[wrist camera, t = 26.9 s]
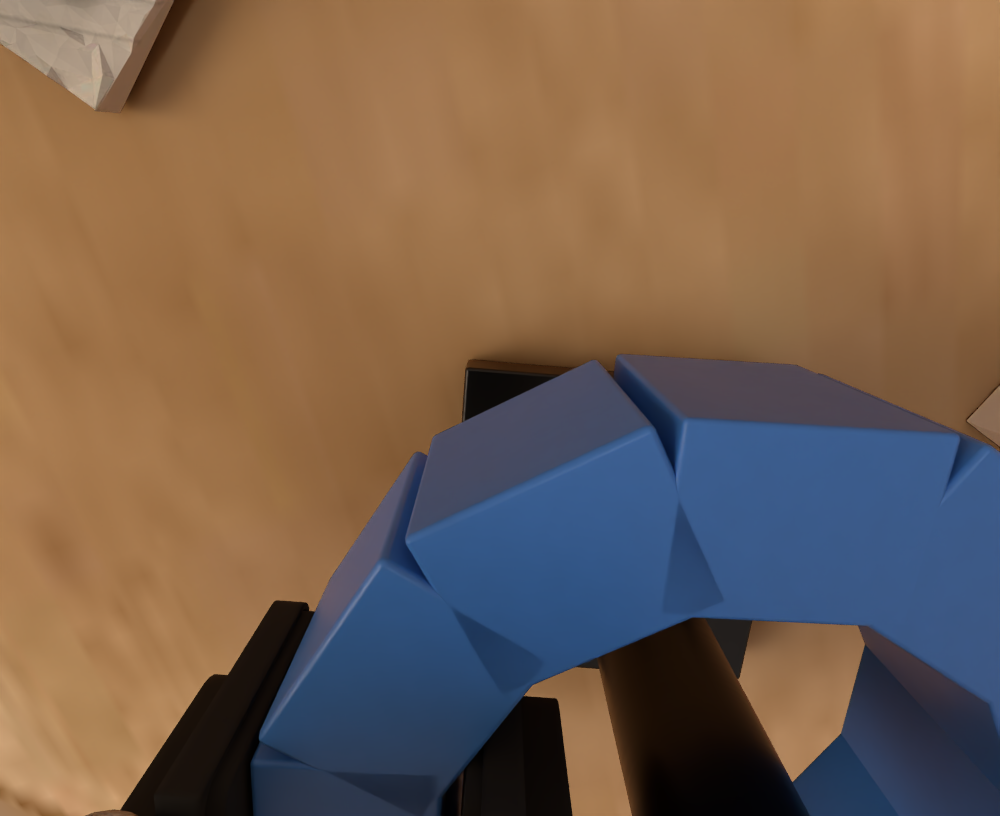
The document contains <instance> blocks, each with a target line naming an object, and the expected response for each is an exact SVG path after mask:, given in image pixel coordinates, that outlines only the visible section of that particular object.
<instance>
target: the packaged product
mask: <svg viewBox="0 0 1000 816" xmlns="http://www.w3.org/2000/svg"><path fill="white" fill-rule="evenodd" d="M173 2H174V0H0V43H1V44H2V45H4V46H5V47H6V48H8V49H9V50H11V51H12V52H14V53H15V54H17V55H18V56H20V57H21V58H23V59H24V60H26V61H27V62H28V63H30V64H31V65H33V66H34V67H35V68H37V69H38V70H40V71H41V72H42V73H44V74H45V75H47V76H48V77H50V78H51V79H52V80H54V81H55V82H57V83H58V84H60V85H61V86H63V87H64V88H66V89H67V90H69V91H70V92H71V93H73V94H74V95H76V96H77V97H78V98H80V99H81V100H83V101H84V102H85V103H87V104H88V105H89V106H91V107H92V108H94V109H95V111H101V112H113V113H120V112H121V110H122V108H123V106H124V104H125V102H126V100H127V98H128V96H129V94H130V91H131V89H132V87H133V85H134V83H135V81H136V79H137V77H138V75H139V73H140V71H141V69H142V66H143V64H144V62H145V60H146V58H147V56H148V54H149V52H150V50H151V48H152V46H153V43H154V41H155V39H156V37H157V35H158V33H159V31H160V29H161V27H162V25H163V23H164V20H165V18H166V16H167V14H168V12H169V10H170V8H171V6H172V4H173Z"/></svg>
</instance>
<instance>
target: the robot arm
mask: <svg viewBox="0 0 1000 816" xmlns="http://www.w3.org/2000/svg"><path fill="white" fill-rule="evenodd" d="M314 613H315V612H314V611H309V606H308V604H307V603H305V602H292V601H278V600H277V601H274V603H273V604H272V605H271V607H270V608H269V610H268V612H267V613H266V615H265V617H264V618H263V620H262V621H261V623H260V625H259V626H258V628H257V629H256V631H255V633H254V634H253V636H252V637H251V639H250V641H249V642H248V644H247V645H246V647H245V649H244V650H243V652H242V653H241V655H240V657H239V658H238V660H237V661H236V663H235V665H234V666H233V668H232V670H231V671H230V673H229V674H228V675H218V674H214V675H213V676H211V677H209V678H208V680H207V681H206V682H205V683H204V685H203V686H202V688H201V689H200V691H199V692H198V694H197V695H196V697H195V698H194V700H193V701H192V703H191V704H190V706H189V707H188V709H187V710H186V712H185V713H184V715H183V716H182V718H181V719H180V721H179V722H178V724H177V725H176V727H175V728H174V730H173V731H172V733H171V734H170V736H169V737H168V739H167V740H166V742H165V743H164V745H163V746H162V748H161V749H160V751H159V752H158V754H157V755H156V757H155V759H154V760H153V762H152V763H151V765H150V766H149V768H148V769H147V771H146V772H145V774H144V775H143V777H142V778H141V780H140V781H139V783H138V784H137V786H136V787H135V789H134V790H133V792H132V793H131V795H130V796H129V798H128V799H127V801H126V802H125V804H124V805H123V807H122V808H121V810H108V811H100V812H94V813H91V814H89V815H86V816H253V802H252V785H251V768H250V762H251V760H252V758H253V756H254V754H255V751H256V749H257V747H258V745H259V742H260V741H259V734H260V730H261V728H262V726H263V723H264V721H265V719H266V717H267V715H268V713H269V710H270V708H271V706H272V704H273V702H274V700H275V697H276V695H277V693H278V691H279V689H280V687H281V684H282V682H283V680H284V678H285V676H286V674H287V671H288V669H289V667H290V665H291V663H292V661H293V658H294V656H295V654H296V652H297V650H298V648H299V645H300V643H301V641H302V639H303V637H304V635H305V632H306V630H307V628H308V626H309V624H310V621H311V619H312V617H313V615H314ZM461 816H572V808H571V800H570V792H569V784H568V776H567V768H566V759H565V751H564V743H563V735H562V727H561V719H560V710H559V704H558V701H557V699H555V698H541V697H527V696H523V697H522V698H521V700H520V701H519V702H518V703H517V705H516V706H515V707H514V708H513V710H512V711H511V712H510V713H509V714H508V716H507V717H506V718H505V719H504V721H503V722H502V723H501V724H500V726H499V727H498V728H497V729H496V731H495V732H494V733H493V734H492V735H491V737H490V738H489V739H488V740H487V742H486V743H485V744H484V745H483V747H482V748H481V749H480V750H479V752H478V753H477V754H476V755H475V756H474V758H473V759H472V760H471V761H470V763H469V764H468V765H467V766H466V768H465V769H464V775H463V789H462V803H461Z"/></svg>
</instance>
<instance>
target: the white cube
mask: <svg viewBox="0 0 1000 816" xmlns="http://www.w3.org/2000/svg"><path fill="white" fill-rule="evenodd" d="M967 422H968V423H969V424H971V425H972V426H973V427H975V428H976V429H977V430H979V431H980V432H981V433H982V434H984V435H985V436H986V437H988V438H989V439H990V440H992V441H993V442H994V443H995V444H997V445H998V446H999V447H1000V386H999V387H998V388H997V389H996V390H995V391H994V392H993V393H992V394H991V395H990V396H989V397H988V398H987V399H986V400H985V402H984V403H983V404H982V405H981V406H980V407H979V408H978V409H977V410H976V411H975V412H974V413H973V414H972V415H971V416H970V417H969V419H968V420H967Z"/></svg>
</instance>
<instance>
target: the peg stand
mask: <svg viewBox="0 0 1000 816" xmlns="http://www.w3.org/2000/svg"><path fill="white" fill-rule="evenodd" d="M572 369H575V368H567V367H555V366H543V365H531V364H519V363H507V362H495V361H483V360H469V361H468V363H467V366H466V370H465V383H464V397H463V411H462V422H464V421H466V420H468V419H470V418H472V417H474V416H476V415H478V414H481V413H483V412H485V411H487V410H489V409H491V408H493V407H495V406H497V405H499V404H501V403H504V402H506V401H508V400H510V399H512V398H514V397H516V396H518V395H520V394H522V393H524V392H527V391H529V390H531V389H533V388H535V387H537V386H539V385H541V384H543V383H545V382H547V381H549V380H552V379H554V378H556V377H558V376H560V375H562V374H564V373H566V372H568V371H570V370H572ZM607 372H608V373H609V374H610V376H611V377H612V378H613V377H614V371H607ZM751 624H752V620H735V619H714V618H690V619H688V620H686V621H683V622H681V623H678V624H676V625H674V626H671V627H669V628H667V629H664V630H662V631H659V632H657V633H655V634H652V635H650V636H648V637H645V638H643V639H640V640H638V641H636V642H633V643H631V644H629V645H626V646H624V647H621V648H619V649H617V650H614V651H612V652H610V653H607V654H605V655H602V656H600V657H598V658H595V659H593V660H591V661H588V662H586V663H583V664H581V665H579V666H576V667H581V668H595V669H600V674H601V678H602V683H603V687H604V692H605V696H606V701H607V705H608V710H609V714H610V719H611V723H612V728H613V732H614V736H615V741H616V745H617V750H618V754H619V759H620V763H621V768H622V772H623V777H624V781H625V786H626V790H627V795H628V799H629V804H630V808H631V813H632V816H810V815H809V813H808V811H807V809H806V807H805V805H804V804H803V802H802V800H801V798H800V796H799V794H798V792H797V790H796V789H795V787H794V785H793V783H792V781H791V779H790V777H789V775H788V773H787V772H786V770H785V768H784V766H783V764H782V762H781V760H780V758H779V757H778V755H777V753H776V751H775V749H774V747H773V745H772V743H771V741H770V740H769V738H768V736H767V734H766V732H765V730H764V728H763V726H762V724H761V723H760V721H759V719H758V717H757V715H756V713H755V711H754V709H753V708H752V706H751V704H750V702H749V700H748V698H747V696H746V694H745V692H744V691H743V689H742V687H741V685H740V683H739V681H738V679H739V677H740V673H741V668H742V664H743V659H744V655H745V651H746V646H747V642H748V637H749V633H750V628H751Z"/></svg>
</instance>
